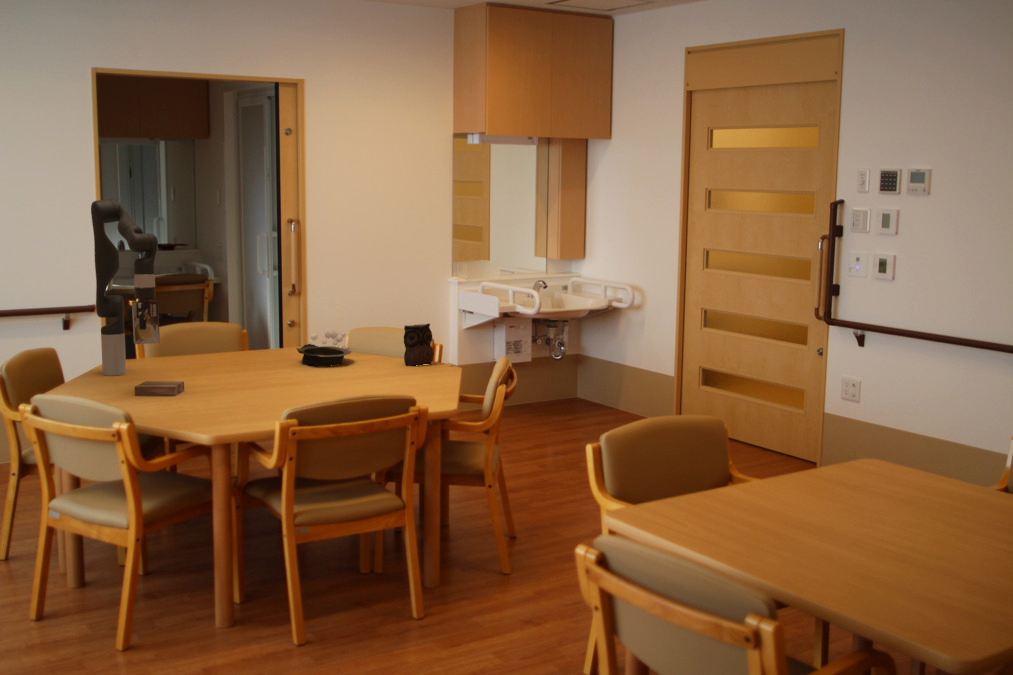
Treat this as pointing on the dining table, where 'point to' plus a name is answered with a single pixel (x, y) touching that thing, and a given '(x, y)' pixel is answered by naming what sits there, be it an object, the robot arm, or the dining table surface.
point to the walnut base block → (159, 388)
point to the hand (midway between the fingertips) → (146, 328)
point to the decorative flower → (333, 336)
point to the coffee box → (152, 324)
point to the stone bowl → (322, 355)
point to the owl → (418, 345)
